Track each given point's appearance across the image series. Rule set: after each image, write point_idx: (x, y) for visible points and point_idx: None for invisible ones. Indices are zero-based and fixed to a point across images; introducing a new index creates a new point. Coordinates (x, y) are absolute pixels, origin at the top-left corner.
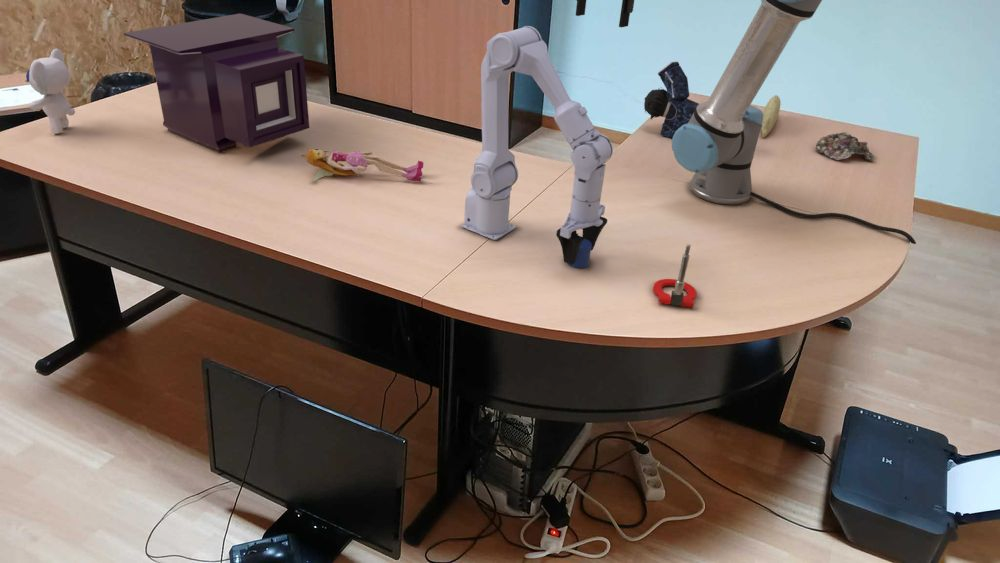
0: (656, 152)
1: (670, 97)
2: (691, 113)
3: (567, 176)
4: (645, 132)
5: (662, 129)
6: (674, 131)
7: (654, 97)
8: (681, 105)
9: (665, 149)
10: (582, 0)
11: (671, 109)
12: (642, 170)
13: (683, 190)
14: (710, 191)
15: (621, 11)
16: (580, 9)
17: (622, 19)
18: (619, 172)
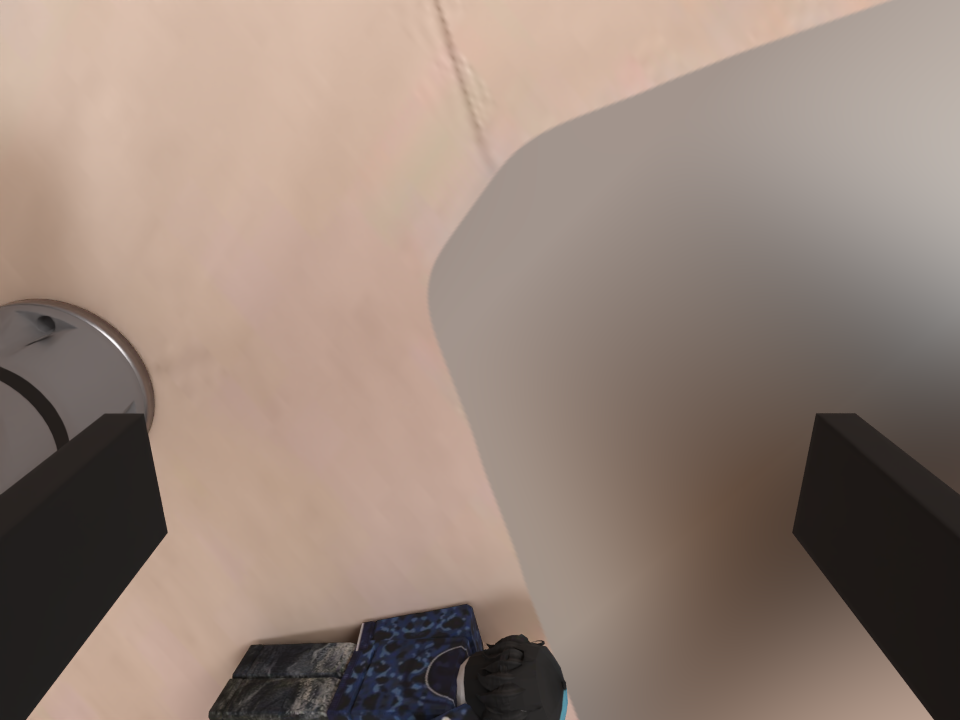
0: (389, 489)
1: (460, 717)
2: (372, 694)
3: (430, 61)
4: (520, 591)
5: (466, 617)
6: (425, 627)
7: (513, 688)
8: (410, 704)
9: (388, 529)
10: (922, 591)
11: (445, 680)
12: (313, 333)
13: (127, 309)
14: (2, 311)
15: (7, 521)
16: (848, 488)
17: (44, 463)
18: (345, 255)
